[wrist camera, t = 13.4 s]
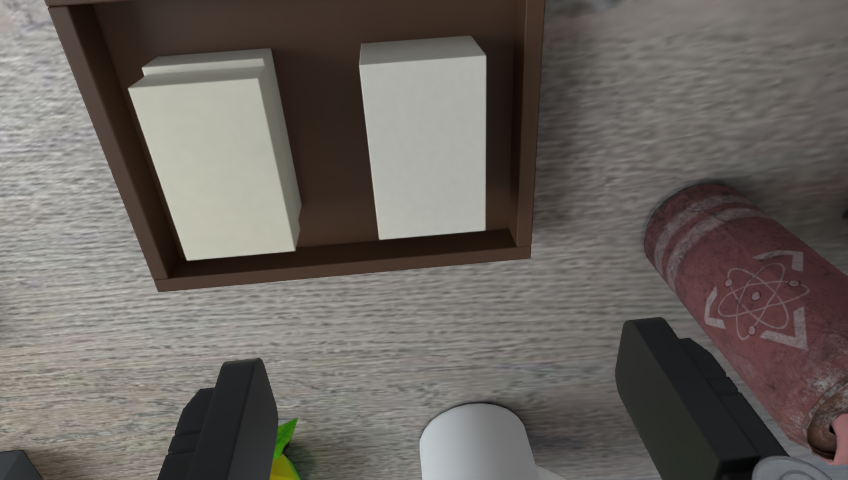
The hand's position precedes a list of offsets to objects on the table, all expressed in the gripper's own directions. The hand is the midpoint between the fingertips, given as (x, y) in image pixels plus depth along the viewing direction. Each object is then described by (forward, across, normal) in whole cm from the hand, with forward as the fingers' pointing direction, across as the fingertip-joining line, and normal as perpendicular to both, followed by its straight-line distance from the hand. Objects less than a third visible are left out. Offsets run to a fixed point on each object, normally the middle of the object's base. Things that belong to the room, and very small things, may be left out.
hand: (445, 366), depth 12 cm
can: (+17, -16, +8) cm, 25 cm away
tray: (+17, +4, 0) cm, 18 cm away
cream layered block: (+17, +8, 0) cm, 19 cm away
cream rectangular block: (+17, -1, 0) cm, 17 cm away
